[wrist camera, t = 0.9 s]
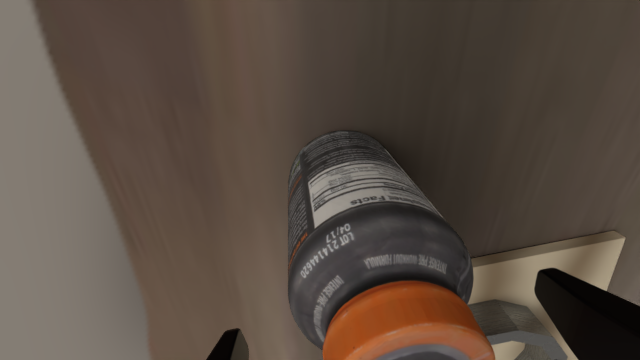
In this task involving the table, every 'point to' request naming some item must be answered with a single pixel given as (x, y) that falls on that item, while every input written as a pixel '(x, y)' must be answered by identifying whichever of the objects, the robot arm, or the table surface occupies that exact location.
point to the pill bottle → (375, 259)
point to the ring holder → (519, 297)
